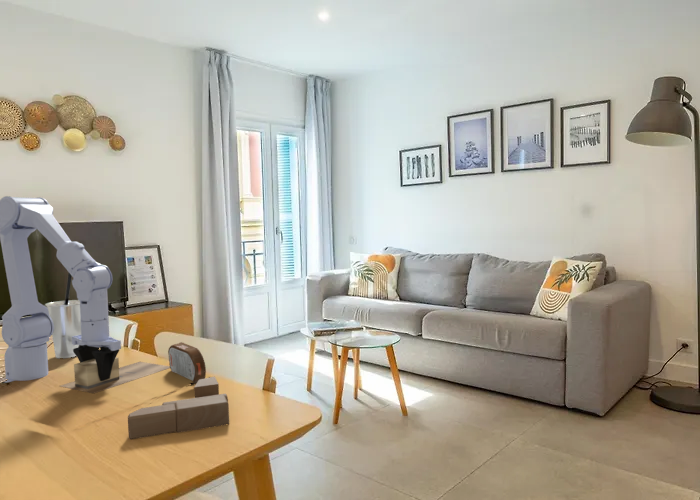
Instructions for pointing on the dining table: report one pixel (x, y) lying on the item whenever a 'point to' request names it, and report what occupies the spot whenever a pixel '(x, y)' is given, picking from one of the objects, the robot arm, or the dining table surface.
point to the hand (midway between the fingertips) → (97, 378)
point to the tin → (187, 362)
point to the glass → (65, 323)
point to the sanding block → (93, 374)
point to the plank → (124, 376)
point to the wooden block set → (182, 413)
